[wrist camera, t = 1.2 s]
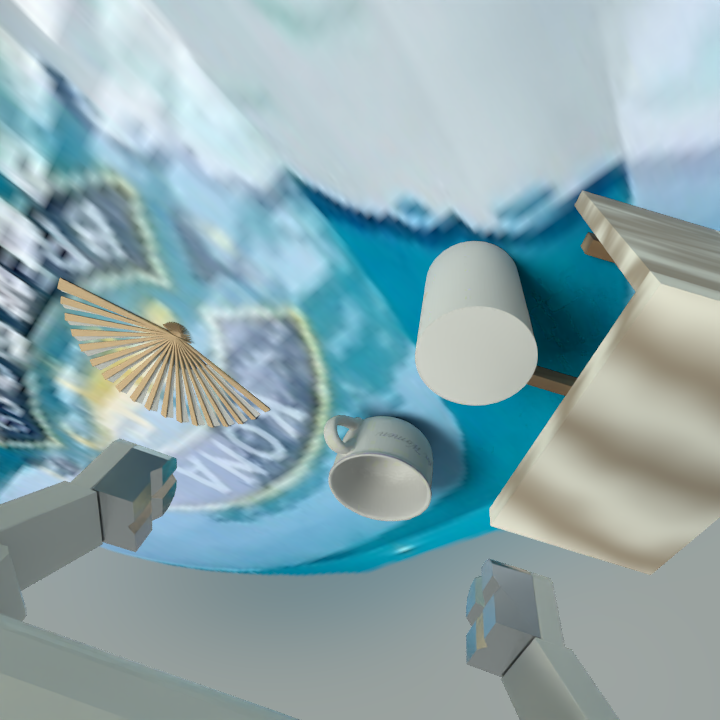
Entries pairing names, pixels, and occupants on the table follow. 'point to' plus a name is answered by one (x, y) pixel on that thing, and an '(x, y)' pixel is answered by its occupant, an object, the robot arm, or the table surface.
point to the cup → (475, 326)
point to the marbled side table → (633, 405)
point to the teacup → (380, 467)
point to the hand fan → (157, 363)
